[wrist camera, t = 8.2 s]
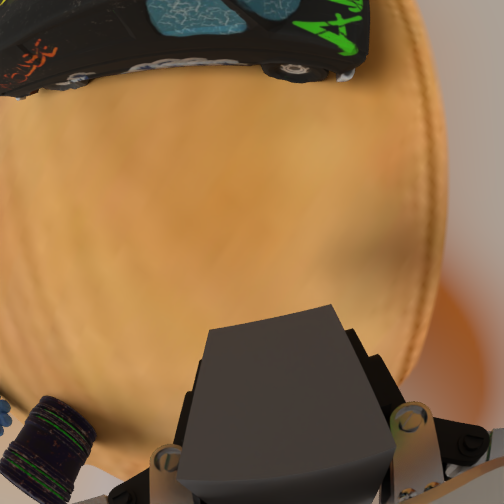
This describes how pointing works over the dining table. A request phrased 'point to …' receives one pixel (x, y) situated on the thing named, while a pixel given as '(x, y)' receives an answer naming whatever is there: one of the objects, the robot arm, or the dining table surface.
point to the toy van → (176, 39)
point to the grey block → (284, 417)
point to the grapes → (4, 415)
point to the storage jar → (49, 452)
